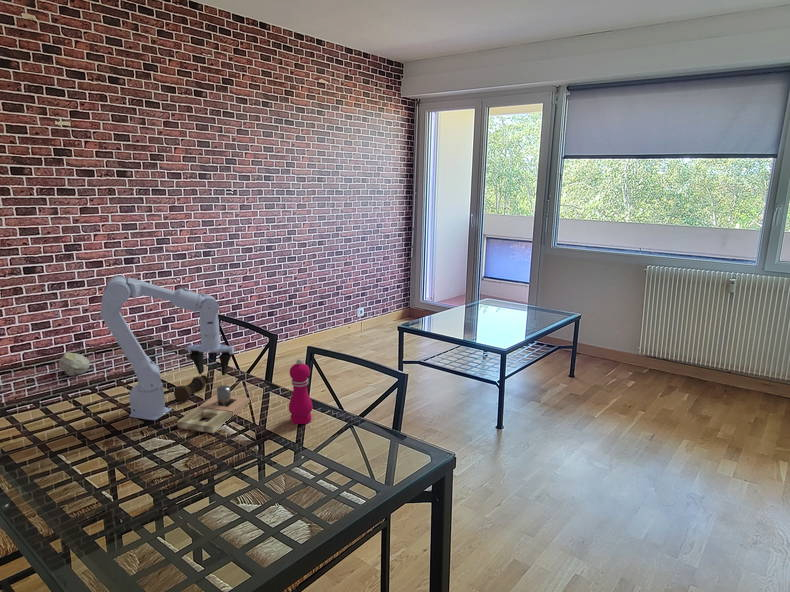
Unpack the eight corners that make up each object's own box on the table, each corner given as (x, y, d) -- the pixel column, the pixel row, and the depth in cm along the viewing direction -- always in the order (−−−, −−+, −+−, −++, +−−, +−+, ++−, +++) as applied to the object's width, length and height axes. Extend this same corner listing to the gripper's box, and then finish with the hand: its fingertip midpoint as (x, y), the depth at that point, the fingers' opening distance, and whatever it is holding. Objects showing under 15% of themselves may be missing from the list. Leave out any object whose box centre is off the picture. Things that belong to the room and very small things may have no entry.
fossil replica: (83, 366, 200) (55, 376, 192) (77, 345, 197) (49, 355, 190) (98, 370, 193) (70, 381, 185) (92, 350, 191) (63, 359, 183)
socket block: (199, 412, 163) (198, 406, 162) (217, 399, 172) (217, 393, 172) (233, 417, 160) (232, 411, 159) (249, 403, 169) (249, 398, 169)
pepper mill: (317, 418, 160) (316, 357, 156) (304, 428, 154) (302, 365, 149) (298, 413, 163) (296, 353, 159) (284, 422, 157) (282, 360, 152)
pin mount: (177, 427, 153) (177, 421, 152) (198, 412, 162) (197, 407, 162) (213, 433, 150) (212, 426, 150) (232, 417, 159) (231, 412, 159)
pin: (215, 410, 164) (214, 389, 163) (222, 404, 168) (221, 384, 167) (226, 411, 164) (225, 391, 162) (233, 406, 167) (232, 386, 166)
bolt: (207, 389, 185) (183, 405, 170) (196, 381, 185) (171, 397, 170) (214, 376, 183) (191, 392, 169) (202, 368, 183) (178, 383, 169)
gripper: (181, 336, 160) (185, 377, 163) (227, 338, 159) (230, 379, 162) (192, 329, 167) (195, 369, 170) (235, 331, 166) (238, 371, 169)
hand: (212, 373), depth 167 cm, fingers open, 7 cm apart
